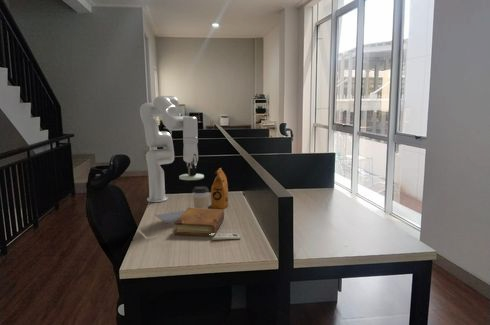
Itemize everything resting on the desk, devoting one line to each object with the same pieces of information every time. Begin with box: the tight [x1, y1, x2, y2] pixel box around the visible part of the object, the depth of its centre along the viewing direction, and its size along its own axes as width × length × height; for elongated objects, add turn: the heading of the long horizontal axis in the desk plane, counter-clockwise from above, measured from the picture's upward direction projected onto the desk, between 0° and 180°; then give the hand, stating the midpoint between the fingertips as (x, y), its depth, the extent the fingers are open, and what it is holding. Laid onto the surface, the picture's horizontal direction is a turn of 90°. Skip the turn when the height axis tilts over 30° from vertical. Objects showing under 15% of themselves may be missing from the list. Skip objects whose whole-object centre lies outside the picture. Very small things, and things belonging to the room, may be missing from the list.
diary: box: [174, 207, 225, 237], centre depth 180 cm, size 23×19×6 cm
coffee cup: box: [191, 185, 210, 209], centre depth 202 cm, size 9×9×15 cm
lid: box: [178, 166, 205, 181], centre depth 197 cm, size 13×13×6 cm
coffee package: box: [210, 167, 229, 210], centre depth 215 cm, size 10×12×22 cm
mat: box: [155, 210, 186, 224], centre depth 196 cm, size 16×16×1 cm
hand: (191, 174), depth 197 cm, fingers closed on lid, 3 cm apart
